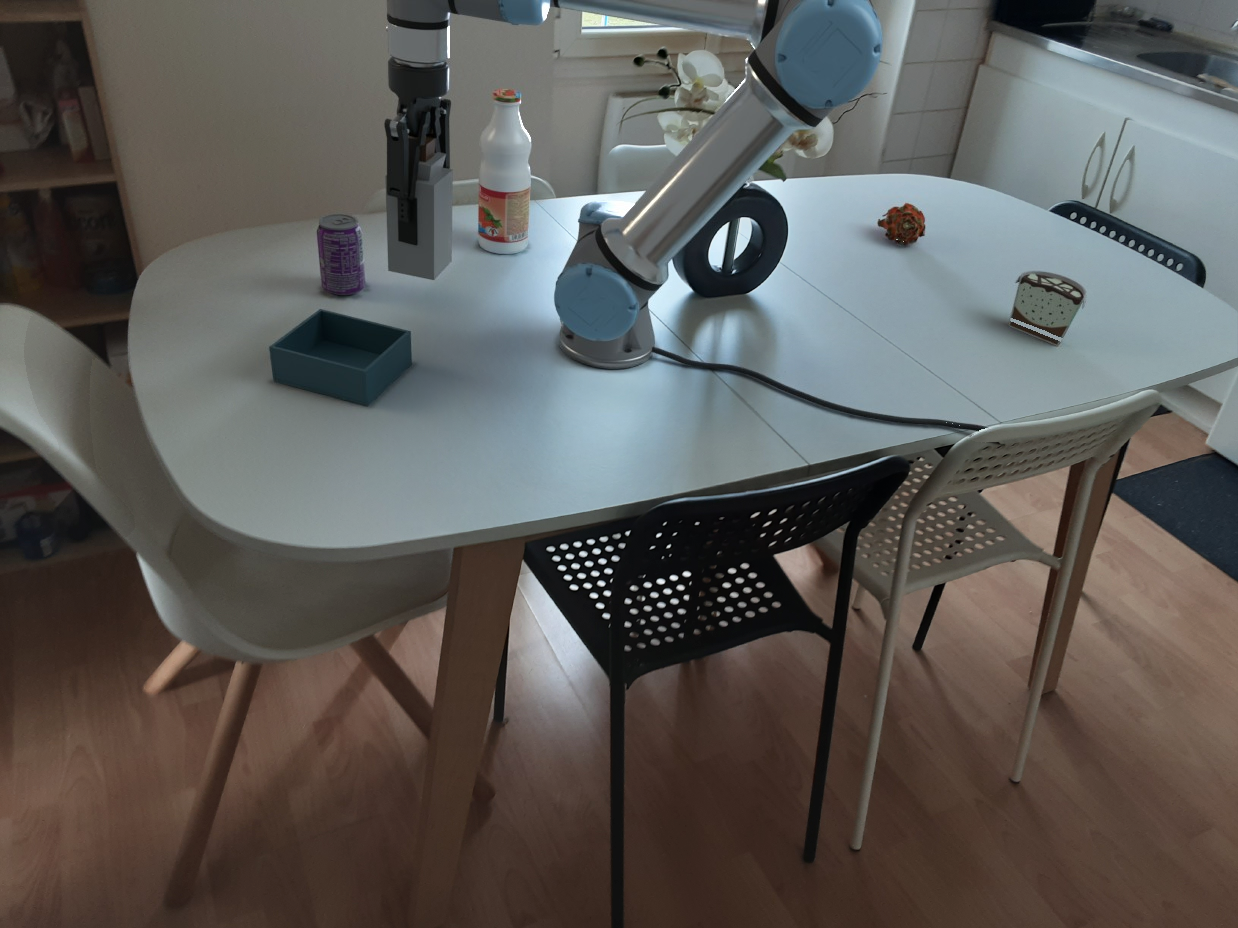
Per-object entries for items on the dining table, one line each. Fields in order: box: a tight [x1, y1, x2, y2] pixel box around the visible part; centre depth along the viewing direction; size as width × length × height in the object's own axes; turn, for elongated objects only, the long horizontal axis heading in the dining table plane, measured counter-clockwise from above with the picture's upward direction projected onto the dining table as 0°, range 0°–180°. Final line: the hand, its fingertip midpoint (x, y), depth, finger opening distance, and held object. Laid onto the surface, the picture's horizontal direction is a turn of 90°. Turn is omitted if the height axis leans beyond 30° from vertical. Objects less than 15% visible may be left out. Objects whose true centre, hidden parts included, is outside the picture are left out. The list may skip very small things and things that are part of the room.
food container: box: [1007, 270, 1088, 347], centre depth 172 cm, size 12×6×10 cm, turn 47°
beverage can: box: [316, 213, 366, 296], centre depth 159 cm, size 7×7×12 cm
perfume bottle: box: [384, 136, 454, 281], centre depth 132 cm, size 7×7×18 cm
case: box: [268, 308, 413, 407], centre depth 140 cm, size 15×13×6 cm
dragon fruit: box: [877, 202, 926, 246], centre depth 202 cm, size 8×8×12 cm
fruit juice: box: [477, 88, 532, 255], centre depth 175 cm, size 9×9×28 cm
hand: (420, 234), depth 134 cm, fingers closed on perfume bottle, 6 cm apart
